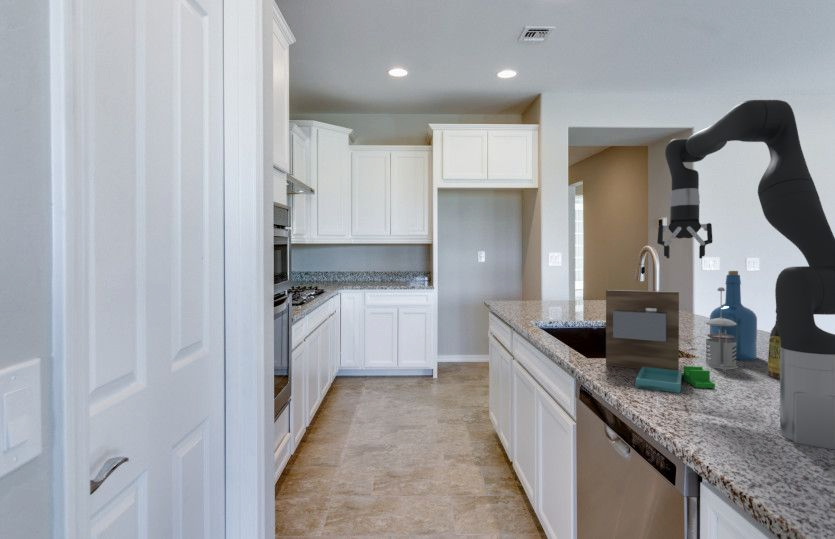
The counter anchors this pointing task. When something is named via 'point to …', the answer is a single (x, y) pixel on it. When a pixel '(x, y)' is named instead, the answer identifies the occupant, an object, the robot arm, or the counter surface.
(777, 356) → the sauce bottle
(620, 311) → the control unit
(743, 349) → the wine bottle
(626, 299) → the board
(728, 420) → the counter surface
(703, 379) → the pipe clamp
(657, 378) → the tray
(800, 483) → the counter surface
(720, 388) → the counter surface
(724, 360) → the french press
